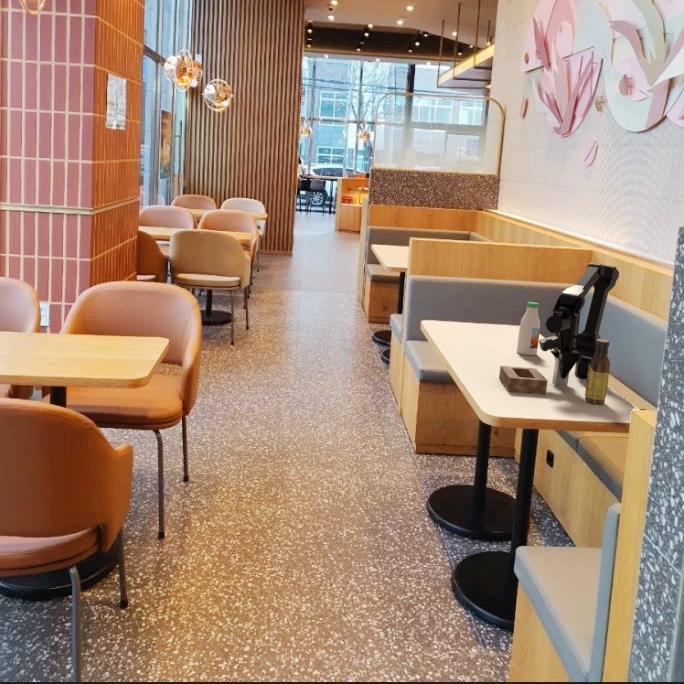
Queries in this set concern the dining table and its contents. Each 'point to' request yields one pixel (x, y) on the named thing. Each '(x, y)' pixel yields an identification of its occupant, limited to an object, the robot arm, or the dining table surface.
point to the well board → (523, 379)
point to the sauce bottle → (598, 374)
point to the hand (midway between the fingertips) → (560, 376)
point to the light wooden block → (559, 375)
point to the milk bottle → (529, 330)
